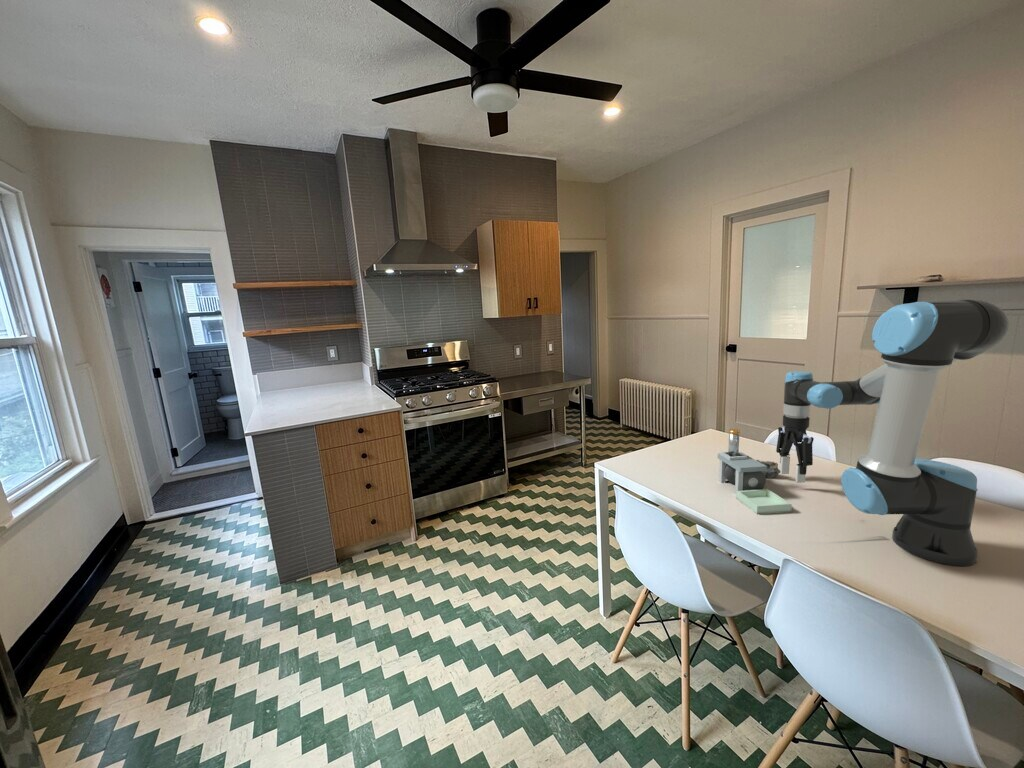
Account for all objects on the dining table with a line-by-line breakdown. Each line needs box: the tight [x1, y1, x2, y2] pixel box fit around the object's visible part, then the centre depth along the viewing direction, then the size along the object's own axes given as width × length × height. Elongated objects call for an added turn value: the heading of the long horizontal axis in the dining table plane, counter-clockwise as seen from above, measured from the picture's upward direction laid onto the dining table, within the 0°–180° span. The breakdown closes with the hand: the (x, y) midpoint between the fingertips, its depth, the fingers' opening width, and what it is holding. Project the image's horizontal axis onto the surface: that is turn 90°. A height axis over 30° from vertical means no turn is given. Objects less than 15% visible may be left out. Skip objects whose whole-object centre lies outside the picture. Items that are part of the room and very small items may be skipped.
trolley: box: [717, 451, 767, 495], centre depth 138 cm, size 14×10×12 cm
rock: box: [755, 459, 781, 479], centre depth 146 cm, size 11×6×10 cm
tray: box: [735, 488, 792, 515], centre depth 125 cm, size 11×11×3 cm
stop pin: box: [727, 428, 741, 457], centre depth 139 cm, size 3×3×10 cm
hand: (792, 477), depth 138 cm, fingers open, 7 cm apart
